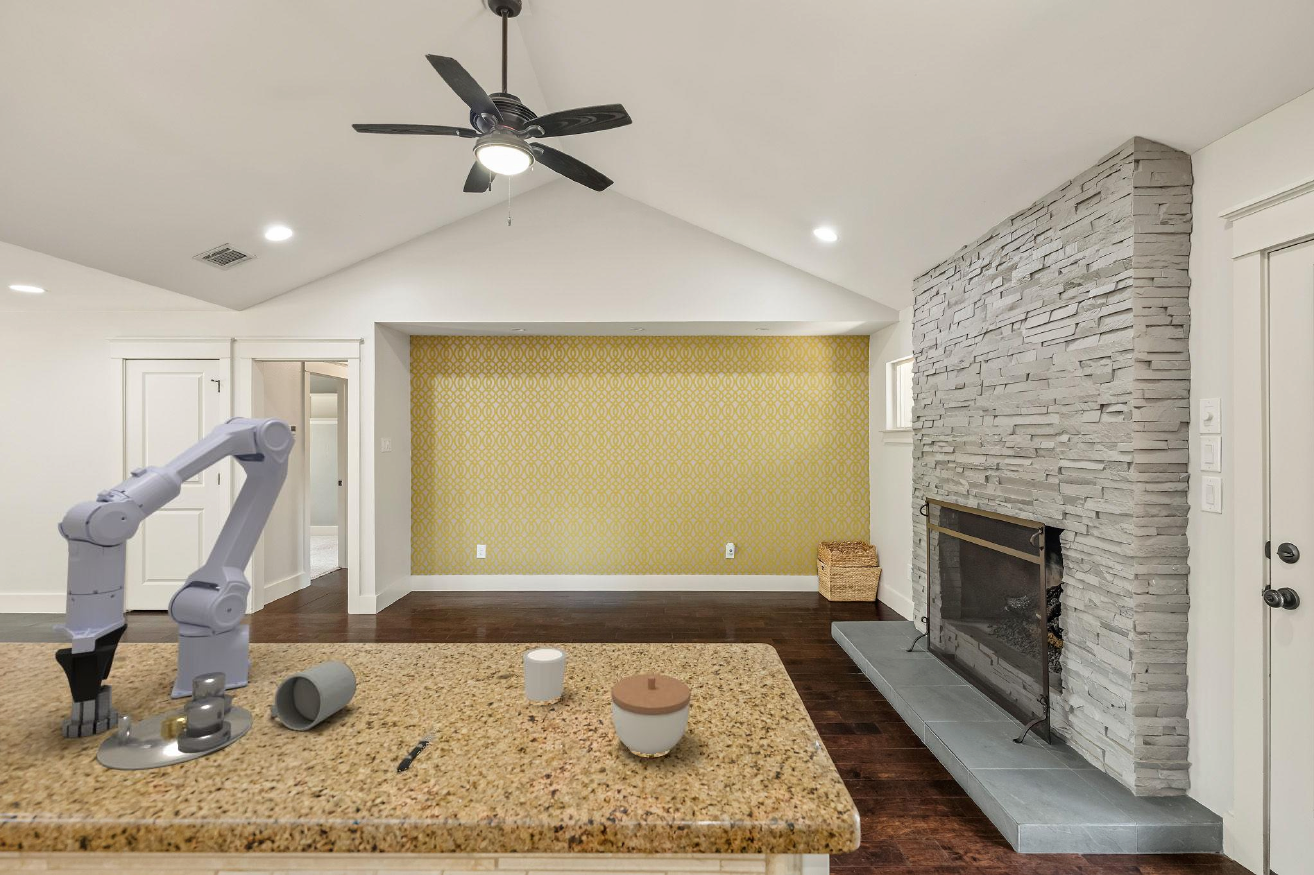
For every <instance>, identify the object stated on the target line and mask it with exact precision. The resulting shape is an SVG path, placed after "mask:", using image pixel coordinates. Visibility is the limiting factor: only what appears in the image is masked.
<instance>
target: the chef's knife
mask: <svg viewBox="0 0 1314 875" xmlns="http://www.w3.org/2000/svg"><path fill="white" fill-rule="evenodd" d="M435 729H436V728H435ZM430 731H432V729H431V730H430ZM430 731H428V733H434V732H430ZM433 731H435V730H433ZM436 731H437V730H436ZM440 731H441V730H440ZM435 733H437V732H435ZM438 733H440V732H438ZM427 736H428V737H427ZM429 736H430V735H427V734H426V735H424V736H423V738H422V739H421V740H420V741H418V743H417V744H416V745H415V747H414V748H413V749H412V750H411V751H410V752H409V753H408V754H407V755H406V756H405V758H403V760H402V761H401V762H400V763H399V764H398V766H397V767H396V771H397V770H398V771H397V772H399V770H403V769H405V768H407V767H409V768H410V765H411V763H410V761H411V760H412V759H413V758H414V757H415V756H416V754H417V753H418V752H419V751H421V749H423V747H424V746H425V745H426V743H429V742H434V741H433V740H434V739H433V738H435V737H430V738H431V739H428V738H429ZM431 736H433V735H431ZM434 736H436V735H434ZM426 738H427V739H426ZM429 740H430V741H429ZM423 750H424V749H423ZM421 752H422V751H421ZM416 757H417V756H416ZM416 757H415V758H416ZM415 758H414V759H415ZM414 759H413V760H414ZM413 760H412V761H413ZM412 761H411V762H412Z"/></svg>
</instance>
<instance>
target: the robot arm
mask: <svg viewBox="0 0 1314 875" xmlns="http://www.w3.org/2000/svg"><path fill="white" fill-rule="evenodd" d="M295 443H296V439H295V436H294V434H293V432H292V430H291V428H290V426H289V424H288V423H287V422H286V421H285V420H283V419H281V418H278V417H269V418H260V417H259V418H257V417H243V416H234V417H233V416H232V417H230V418H228V419H227V420H226V421H224V423H221V424H218V425H216V426H214V428H213V429H212V431H211V432H210V433H208V434H207V435H206V436H205V437H204V438H201V439H200V440H198V441H197V442H196V443H194V444H193V445H191V447H188V448H187V449H186V450H184V451H183V452H182V453H181V454H179V455H178V456H176V457H175V458H173V459H172V460H171V461H169V462H168V463H166V464H165V465H164V466H161V467H160V466H156V465H150V466H146V467H136V468H135V469H133V470H132V471H131V472H130V474H131V476H130V477H129V478H127V479H125V480H123V481H122V482H120V483H119V484H117V485H116V486H114V487H112V488H111V489H109V490H108V489H107V490H106V489H103V490H102V491H100V492H99V493H97V498H96V499H95V500H88V501H83V502H79V503H77V504H75V505H73V506H72V507H71V508H69V509H68V510H67V512H66V513H65V515H64V516H63V518H62V521H61V522H58V523H57V529H58V533H59V534H60V536H61V537H62V538H63V539H65V540H66V542H67V546H68V548H67V551H68V560H67V580H66V581H67V582H66V602H65V603H66V604H65V622H64V623H58V624H55V625H54V626H53V627H52V633H53V634H60V633H63V634H64V635H66V637H68V638H69V639H70V640H72V641H71V647H65V648H59V649H58V650H57V651H56V652H55V656H54V657H55V660H56V662H57V663H58V664H59V665H60V667H61V669H62V670H63V671H64V673H65V675H66V678H67V680H68V685H69V688H70V694H71V698H72V697H73V700H74V702H75V703H79V702H85V701H91V700H96V698H97V696H98V694H99V691H100V687H101V686H102V683H103V681H107V679H108V677H109V676H110V672H111V669H112V665H113V662H114V658H115V655H116V651H117V647H118V646H119V643H120V640H122V639H121V638H122V637H123V635H124V633H125V632H126V631H127V629H128V623H126V618H125V617H124V606H125V605H124V601H125V581H126V580H125V578H126V560H127V558H126V557H127V541H128V540H130V539H132V538H133V537H134V536H135V535H136V534H137V531H138V529H139V527H140V526H139V525H140V524H141V523H142V521H143V520H145V519H146V518H148V517H150V516H151V515H152V514H154V513H155V512H157V511H158V510H160V509H161V508H162V507H164V506H165V505H167V504H169V503H170V502H171V501H173V500H174V499H175V498H177V497H179V495H180V494H181V490H182V484H183V483H185V482H186V481H188V480H190V479H191V478H193V477H195V476H196V475H198V474H200V473H201V472H203V471H205V470H206V469H209V467H212V466H213V465H215V464H217V463H218V462H220V461H221V460H224V459H225V458H227V457H228V456H231V457H233V459H234V460H235V461H236V463H238V464H239V465H240V466H241V467H242V468H243V470H244V473H245V474H246V479H245V481H244V482H243V485H242V486H241V489H240V491H239V493H238V496H237V497H236V499H235V502H234V504H233V505H232V508H231V510H230V512H229V514H228V516H227V519H226V520H225V522H224V525H223V527H222V528H221V531H220V532H219V535H218V536H217V539H216V541H215V542H214V545H213V548H212V550H211V552H210V554H209V556H208V558H207V560H206V562H205V564H203V566H201V567H199V568H198V569H197V570H195V571H193V572H192V573H190V574H189V575H188V576H187V578H186V581H185V582H184V583H183V585H182V586H181V587H180V588H179V589H178V590H177V591H176V592H174V594H173V595H172V597H171V598H170V600H169V603H168V605H167V614H168V616H169V618H170V619H171V621H173V622H174V623H176V630H177V631H178V638H177V639H178V640H177V641H178V642H177V665H176V666H177V670H176V671H177V672H176V678H175V679H174V683H173V687H172V691H171V695H170V698H171V699H177V698H183V697H188V696H192V680H193V679H194V678H195V677H197V676H200V675H203V674H207V673H213V672H222V673H225V674H226V682H225V690H228V689H234V688H239V687H240V688H241V687H246V686H247V685H248V676H249V675H248V674H249V672H248V671H249V670H251V657H249V650H250V648H249V646H250V645H249V644H250V625H249V624H239V623H240V622H241V621H242V620H243V618H244V616H245V614H246V612H247V607H248V596H249V592H250V591H251V588H252V586H251V584H250V581H248V578H247V577H246V575H245V571H246V568H247V566H248V564H249V562H250V560H251V557H252V555H253V552H254V551H255V549H256V546H257V544H258V542H259V540H260V537H261V535H262V533H263V531H264V528H265V526H266V524H267V522H268V519H269V517H270V515H271V512H272V510H273V508H274V506H275V504H276V502H277V499H278V497H279V495H280V492H281V490H282V488H283V485H284V484H285V481H286V479H287V476H288V472H289V471H288V470H289V469H288V468H289V458H290V454H291V451H292V450H293V447H294V444H295ZM218 587H219V588H218Z"/></svg>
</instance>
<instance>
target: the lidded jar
mask: <svg viewBox="0 0 1314 875" xmlns="http://www.w3.org/2000/svg"><path fill="white" fill-rule="evenodd" d="M691 695H692V694H691V689H690V688H689V686H688V685H687V684H686V683H685V682H684V681H682V680H680V679H677V678H676V677H671V676H668V675H663V674H654V673H653V674H652V673H651V674H650V673H649V674H648V673H647V674H646V673H642V674H634V675H629V676H626V677H623V678H621V679H619V680H617V681H616V682H615V684H613V686H612V687H611V714H612V721H613V726H614V730H615V732H616V734H617V736H618V738H619V740H620V741H621V743H622V744H624V746H626V748H627V747H628V748H629V749H631V750H633V751H636V752H640V753H646V754H656V753H662V752H665V751H668V750H670V749H671V750H672V749H673V748H674V747H675V746H676V745H678V743H679V742H680V741H681V739H682V738H683V736H684V734H685V732H686V729H687V725H688V721H689V716H690V702H691V697H692V696H691Z"/></svg>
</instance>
